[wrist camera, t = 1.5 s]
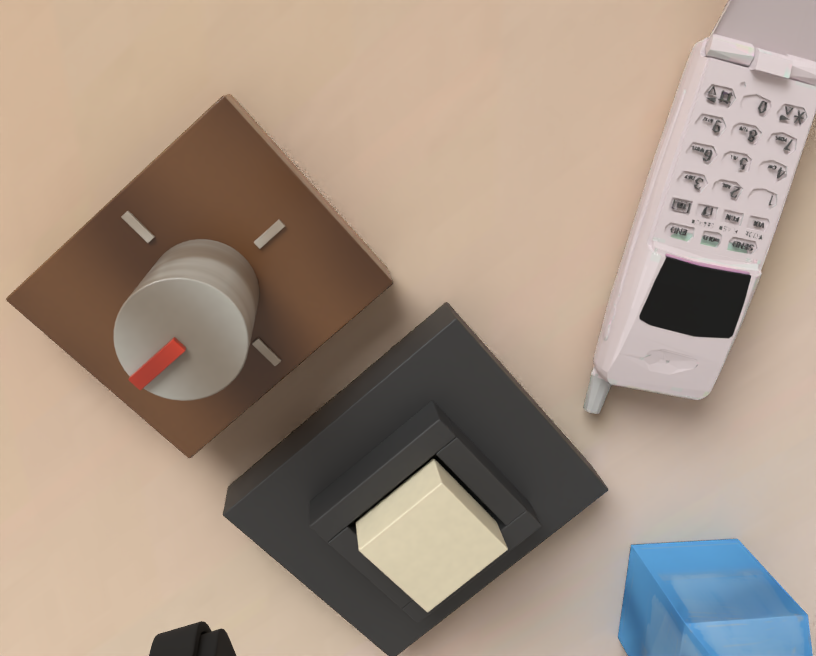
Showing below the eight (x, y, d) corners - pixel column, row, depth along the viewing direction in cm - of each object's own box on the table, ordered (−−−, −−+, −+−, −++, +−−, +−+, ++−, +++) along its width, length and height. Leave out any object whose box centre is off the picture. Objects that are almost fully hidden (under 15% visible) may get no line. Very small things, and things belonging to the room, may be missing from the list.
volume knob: (204, 216, 30) (178, 252, 24) (281, 294, 31) (275, 347, 25) (125, 288, 30) (81, 341, 24) (205, 362, 32) (181, 429, 26)
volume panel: (229, 92, 31) (223, 95, 28) (388, 268, 34) (394, 284, 31) (26, 283, 32) (2, 300, 30) (197, 434, 35) (188, 461, 33)
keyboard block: (446, 301, 35) (465, 332, 30) (590, 464, 39) (625, 513, 34) (227, 486, 36) (216, 541, 32) (387, 625, 40) (396, 690, 36)
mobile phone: (991, -161, 26) (735, 477, 33) (870, -118, 31) (674, 419, 38) (839, -215, 24) (608, 457, 32) (742, -160, 30) (565, 400, 37)
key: (433, 457, 33) (441, 482, 31) (496, 521, 34) (508, 549, 32) (354, 521, 33) (358, 550, 31) (420, 581, 35) (427, 613, 33)
